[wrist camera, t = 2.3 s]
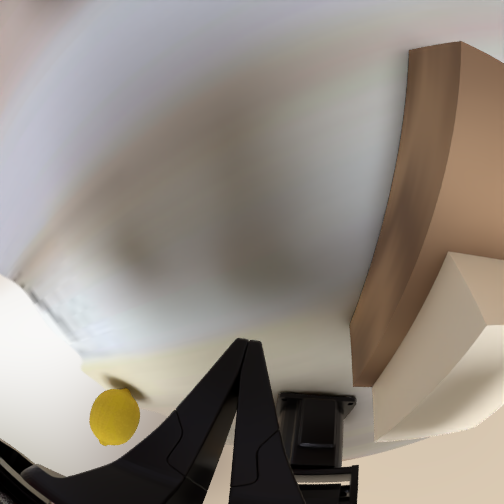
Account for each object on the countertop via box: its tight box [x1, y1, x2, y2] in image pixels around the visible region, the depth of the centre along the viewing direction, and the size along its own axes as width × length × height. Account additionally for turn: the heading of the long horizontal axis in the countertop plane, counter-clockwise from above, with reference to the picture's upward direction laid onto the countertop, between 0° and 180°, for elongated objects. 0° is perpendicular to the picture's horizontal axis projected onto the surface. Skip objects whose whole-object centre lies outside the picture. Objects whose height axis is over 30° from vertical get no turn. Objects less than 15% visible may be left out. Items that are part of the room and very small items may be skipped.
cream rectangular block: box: [372, 252, 504, 442], centre depth 8 cm, size 8×6×3 cm
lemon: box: [90, 388, 140, 446], centre depth 24 cm, size 6×6×8 cm
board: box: [349, 41, 504, 387], centre depth 9 cm, size 14×11×4 cm
